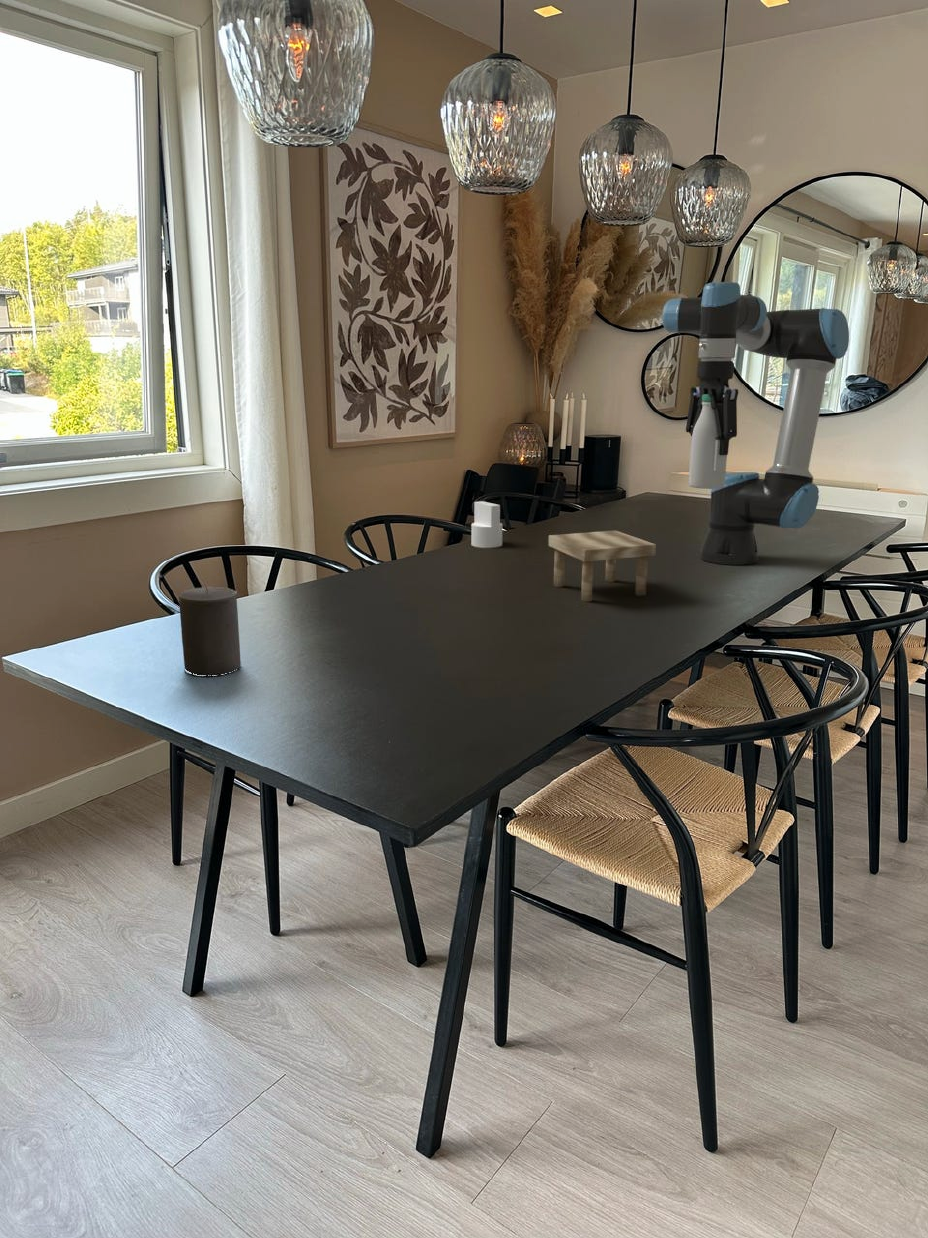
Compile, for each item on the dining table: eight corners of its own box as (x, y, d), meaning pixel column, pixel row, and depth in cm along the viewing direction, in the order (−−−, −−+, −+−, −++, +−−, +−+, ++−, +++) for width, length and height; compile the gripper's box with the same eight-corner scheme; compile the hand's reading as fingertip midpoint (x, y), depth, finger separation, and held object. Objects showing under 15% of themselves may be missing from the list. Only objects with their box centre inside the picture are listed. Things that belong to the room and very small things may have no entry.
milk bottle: (725, 490, 192) (733, 394, 186) (688, 489, 193) (695, 394, 188) (722, 485, 199) (730, 393, 194) (687, 484, 201) (694, 393, 195)
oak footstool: (613, 578, 220) (615, 530, 216) (652, 595, 204) (655, 544, 200) (547, 584, 214) (548, 535, 210) (582, 603, 198) (584, 550, 194)
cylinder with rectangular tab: (508, 545, 258) (509, 504, 254) (483, 549, 253) (483, 507, 250) (490, 540, 265) (490, 500, 262) (465, 543, 260) (465, 503, 257)
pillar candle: (188, 680, 151) (181, 595, 146) (181, 662, 159) (174, 581, 155) (246, 673, 154) (241, 590, 150) (236, 656, 163) (231, 577, 159)
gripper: (673, 359, 197) (666, 463, 203) (731, 360, 178) (722, 474, 185) (702, 359, 199) (694, 462, 206) (762, 360, 181) (752, 472, 187)
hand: (707, 467), depth 195 cm, fingers closed on milk bottle, 8 cm apart
